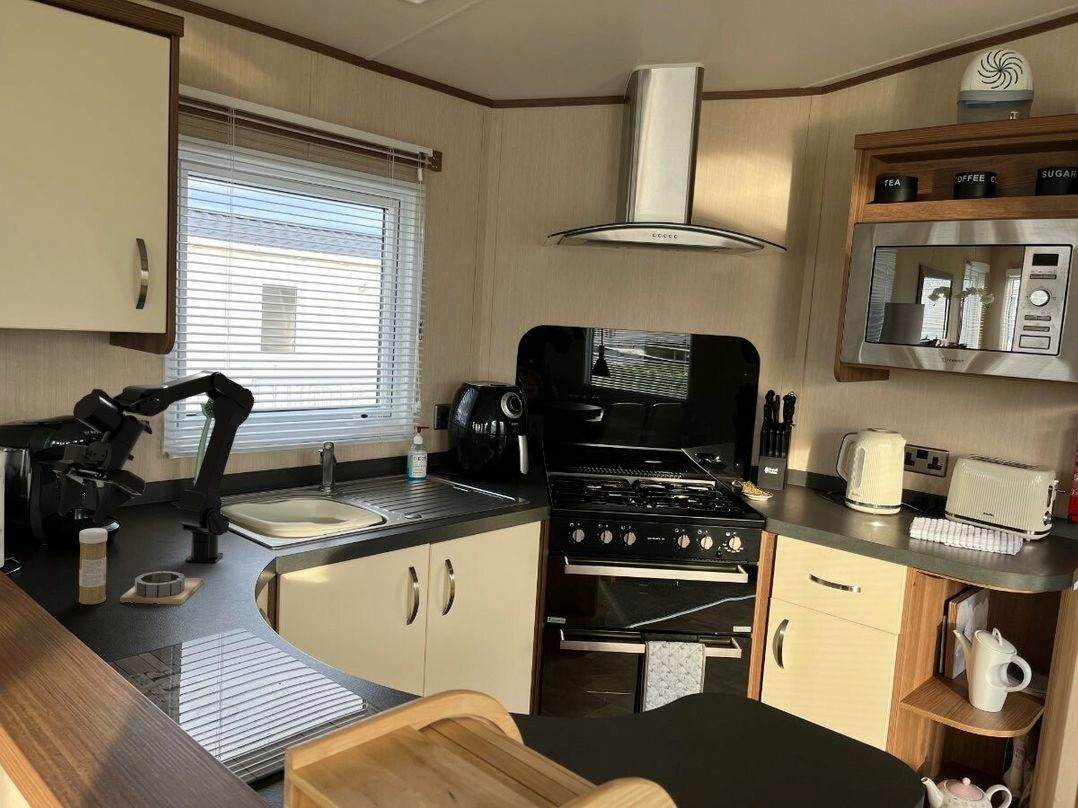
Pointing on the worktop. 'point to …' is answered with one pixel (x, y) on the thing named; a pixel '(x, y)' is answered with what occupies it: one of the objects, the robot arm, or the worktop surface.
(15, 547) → the worktop surface
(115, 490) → the robot arm
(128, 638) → the worktop surface
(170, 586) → the socket ring
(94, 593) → the sprinkles bottle
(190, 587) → the carrier plate
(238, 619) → the worktop surface
